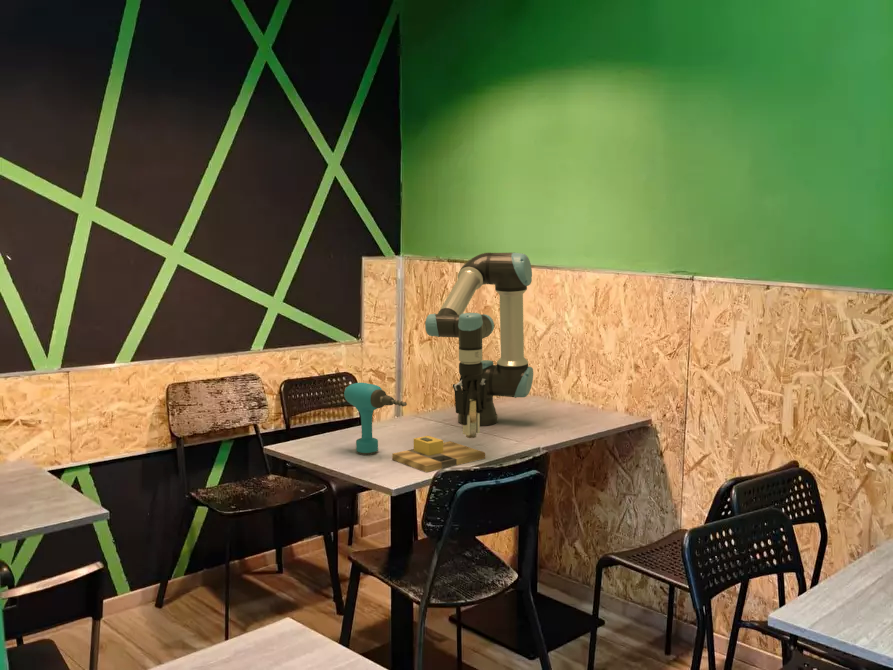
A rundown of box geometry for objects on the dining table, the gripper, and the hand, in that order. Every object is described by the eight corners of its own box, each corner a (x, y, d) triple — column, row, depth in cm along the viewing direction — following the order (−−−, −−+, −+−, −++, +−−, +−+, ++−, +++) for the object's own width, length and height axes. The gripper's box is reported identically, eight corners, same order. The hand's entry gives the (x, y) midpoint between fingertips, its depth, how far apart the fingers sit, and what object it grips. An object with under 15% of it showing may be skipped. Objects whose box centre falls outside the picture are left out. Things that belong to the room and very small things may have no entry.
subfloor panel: (392, 459, 274) (392, 453, 274) (450, 446, 289) (450, 441, 288) (426, 472, 260) (426, 466, 260) (485, 458, 275) (485, 452, 275)
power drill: (416, 460, 273) (415, 389, 270) (396, 466, 266) (396, 393, 263) (358, 445, 292) (356, 378, 288) (338, 450, 285) (337, 382, 282)
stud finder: (413, 450, 277) (413, 437, 276) (428, 447, 281) (428, 434, 280) (428, 455, 271) (428, 442, 270) (443, 452, 275) (443, 439, 274)
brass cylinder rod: (463, 436, 274) (463, 400, 272) (471, 434, 276) (471, 398, 274) (470, 438, 271) (470, 402, 270) (478, 436, 274) (478, 400, 272)
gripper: (458, 366, 262) (459, 440, 266) (497, 360, 272) (498, 431, 276) (443, 363, 268) (444, 435, 271) (482, 357, 278) (482, 426, 282)
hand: (471, 433), depth 274 cm, fingers closed on brass cylinder rod, 3 cm apart
